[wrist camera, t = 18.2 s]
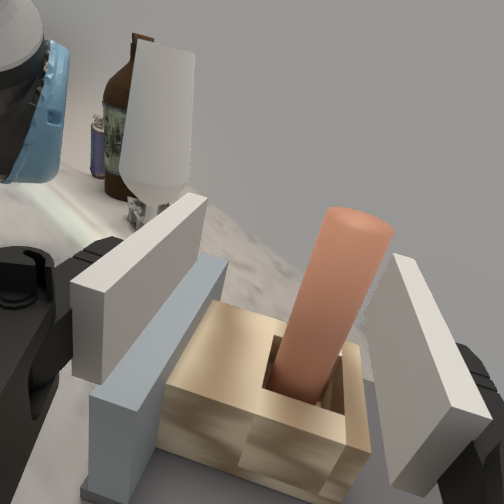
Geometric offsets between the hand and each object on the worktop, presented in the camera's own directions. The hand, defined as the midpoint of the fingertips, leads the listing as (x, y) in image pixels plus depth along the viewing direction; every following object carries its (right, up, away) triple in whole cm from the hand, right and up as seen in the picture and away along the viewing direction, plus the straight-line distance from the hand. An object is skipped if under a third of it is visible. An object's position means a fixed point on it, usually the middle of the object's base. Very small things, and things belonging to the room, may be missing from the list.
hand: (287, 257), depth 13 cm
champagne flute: (-14, -4, +27) cm, 30 cm away
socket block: (-1, -12, +13) cm, 18 cm away
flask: (-32, +16, +56) cm, 66 cm away
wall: (-8, -10, +14) cm, 19 cm away
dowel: (+1, -12, +12) cm, 17 cm away
